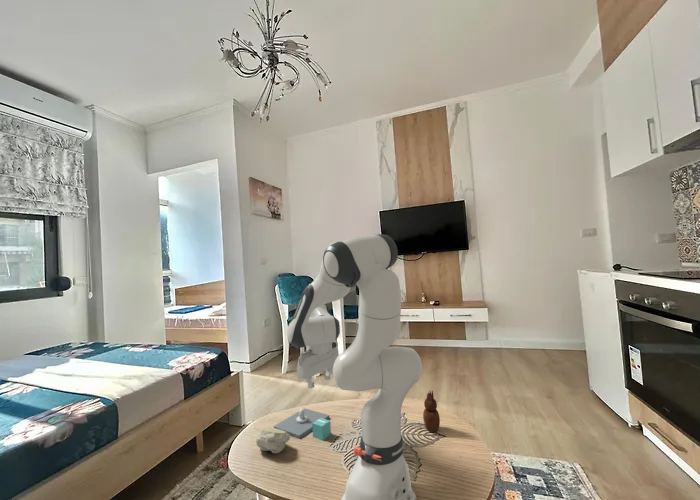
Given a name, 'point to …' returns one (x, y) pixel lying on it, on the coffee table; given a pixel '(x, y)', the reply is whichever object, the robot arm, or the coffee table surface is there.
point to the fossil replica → (272, 440)
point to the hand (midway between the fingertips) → (319, 383)
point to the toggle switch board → (300, 422)
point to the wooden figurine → (431, 414)
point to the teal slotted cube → (321, 428)
